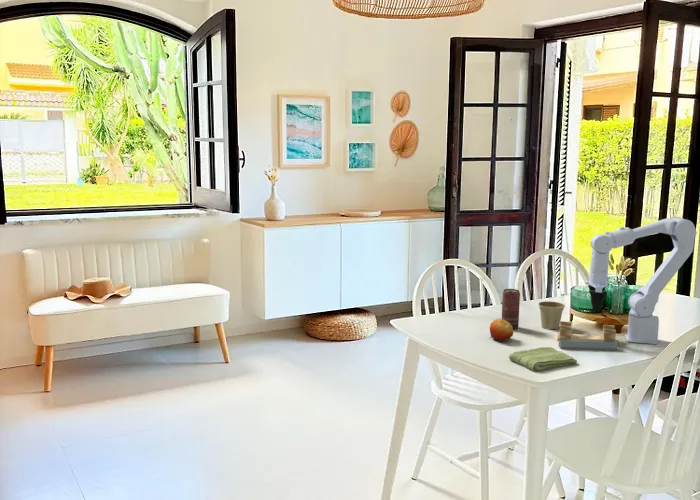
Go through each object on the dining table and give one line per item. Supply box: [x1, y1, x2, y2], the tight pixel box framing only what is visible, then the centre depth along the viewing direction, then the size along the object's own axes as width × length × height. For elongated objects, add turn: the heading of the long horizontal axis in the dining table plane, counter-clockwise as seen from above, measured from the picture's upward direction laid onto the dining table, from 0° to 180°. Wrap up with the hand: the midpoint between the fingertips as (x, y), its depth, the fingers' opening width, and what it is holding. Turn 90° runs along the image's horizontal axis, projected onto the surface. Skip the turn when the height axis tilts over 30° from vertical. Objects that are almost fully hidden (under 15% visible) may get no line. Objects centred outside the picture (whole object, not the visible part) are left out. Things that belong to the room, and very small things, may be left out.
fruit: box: [489, 318, 514, 342], centre depth 224 cm, size 8×8×8 cm
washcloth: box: [508, 346, 578, 372], centre depth 201 cm, size 13×18×3 cm
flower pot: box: [537, 300, 566, 330], centre depth 238 cm, size 9×9×9 cm
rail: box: [558, 338, 619, 351], centre depth 214 cm, size 18×3×3 cm, turn 85°
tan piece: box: [556, 320, 618, 342], centre depth 222 cm, size 19×8×5 cm, turn 72°
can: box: [501, 288, 521, 331], centre depth 237 cm, size 6×6×14 cm
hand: (595, 308), depth 224 cm, fingers open, 7 cm apart
